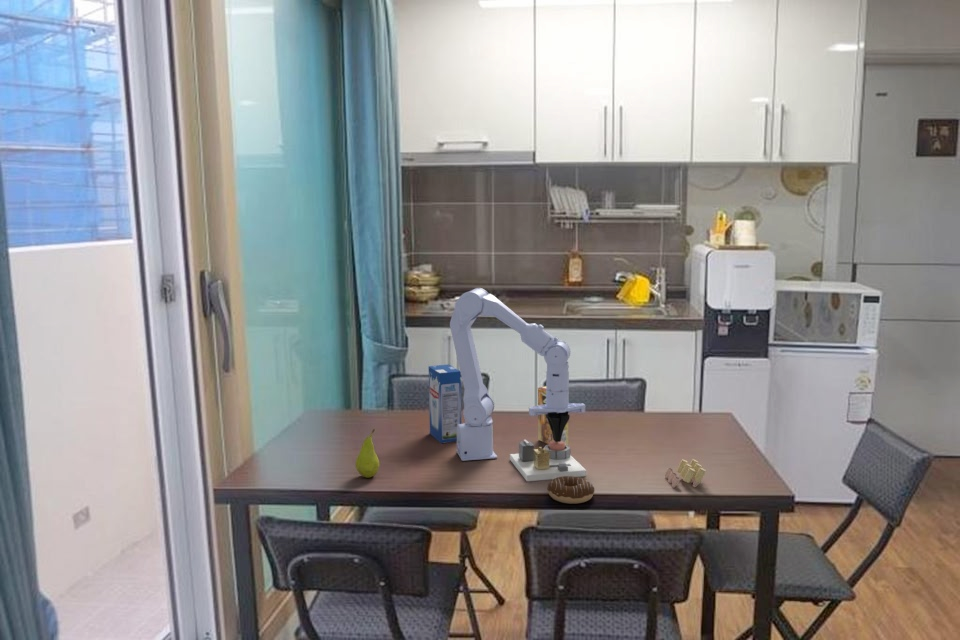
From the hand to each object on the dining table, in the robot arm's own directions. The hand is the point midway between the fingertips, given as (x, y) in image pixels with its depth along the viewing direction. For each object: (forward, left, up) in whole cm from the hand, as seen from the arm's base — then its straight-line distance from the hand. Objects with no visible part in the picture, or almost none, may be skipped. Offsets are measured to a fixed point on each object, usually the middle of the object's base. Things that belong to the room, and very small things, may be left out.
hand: (556, 440), depth 195 cm
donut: (-4, -24, -6) cm, 25 cm away
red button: (0, 0, -3) cm, 3 cm away
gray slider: (-8, -1, -4) cm, 9 cm away
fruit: (-48, 0, -6) cm, 49 cm away
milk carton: (-24, +27, -6) cm, 37 cm away
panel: (-4, -4, -6) cm, 8 cm away
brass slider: (-6, -8, -4) cm, 11 cm away
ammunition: (+25, -22, -6) cm, 33 cm away
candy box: (+4, +14, -6) cm, 16 cm away
